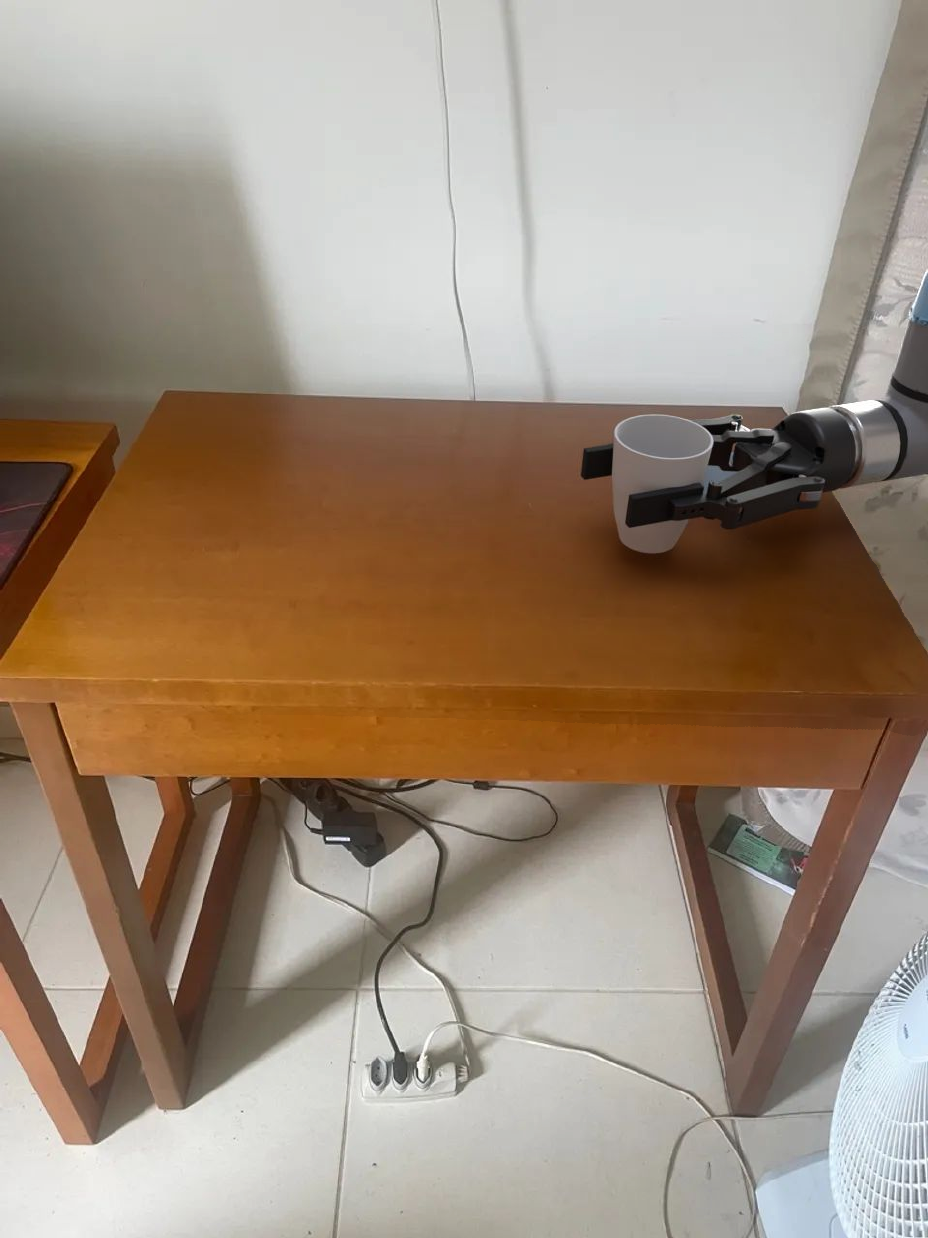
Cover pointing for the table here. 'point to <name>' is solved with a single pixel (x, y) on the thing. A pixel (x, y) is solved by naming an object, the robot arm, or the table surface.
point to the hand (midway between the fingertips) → (606, 486)
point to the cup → (656, 471)
